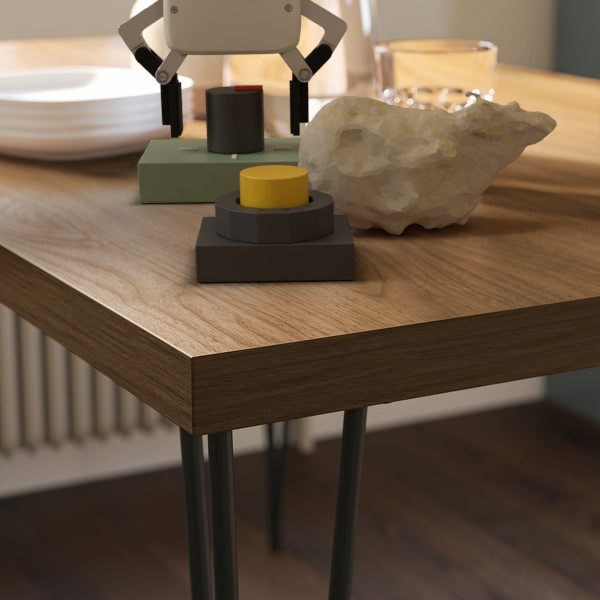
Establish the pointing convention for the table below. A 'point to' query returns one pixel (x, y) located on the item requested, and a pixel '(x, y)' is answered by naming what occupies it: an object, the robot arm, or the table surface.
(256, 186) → the trigger button
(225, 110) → the dial
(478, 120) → the cream lumpy rock
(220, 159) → the dial panel
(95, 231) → the table surface
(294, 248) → the button housing
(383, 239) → the table surface
